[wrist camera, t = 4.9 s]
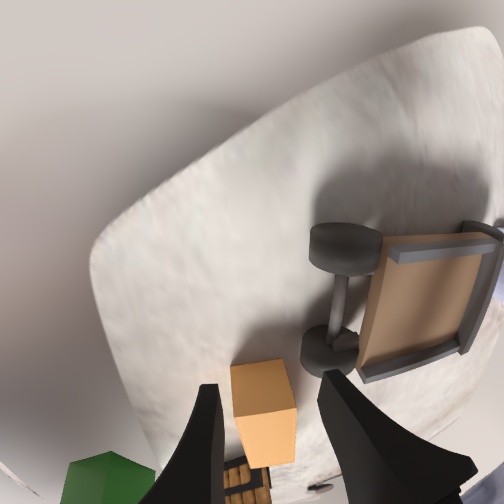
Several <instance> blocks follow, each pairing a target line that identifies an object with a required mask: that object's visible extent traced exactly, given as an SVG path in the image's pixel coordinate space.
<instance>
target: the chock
mask: <svg viewBox="0 0 504 504" xmlns="http://www.w3.org/2000/svg"><path fill="white" fill-rule="evenodd" d="M230 373H231V387H232V400H233V413H234V419H235V423H236V426H237V429H238V432H239V435H240V438H241V442H242V445H243V448H244V451H245V454H246V457H247V459H248V462H249V465H250V468H251V469H254V468H262V467H269V466H275V465H281V464H287V463H292V462H295V443H296V416H297V407H296V403H295V400H294V396H293V393H292V389H291V386H290V382H289V379H288V375H287V372H286V368H285V365H284V361H283V358H281V359H275V360H269V361H263V362H256V363H250V364H242V365H234V366H230Z"/></svg>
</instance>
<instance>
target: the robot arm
mask: <svg viewBox="0 0 504 504" xmlns="http://www.w3.org/2000/svg"><path fill="white" fill-rule="evenodd" d="M497 229H499V230H500V231H502V232H503V233H504V227H497ZM503 243H504V242H503ZM493 298H496V299H497V300H498V301H500V302H501V303H502V304H503V305H504V260H503V264H502V267H501V271H500V274H499V277H498V281H497V284H496V287H495V290H494V293H493V295H492V298H491V299H493ZM317 402H318V407H319V411H320V415H321V418H322V422H323V424H324V427H325V429H326V432H327V435H328V437H329V439H330V442H331V444H332V447H333V449H334V452H335V454H336V457H337V459H338V462H339V465H340V468H341V471H342V475H343V479H344V483H345V487H346V492H347V496H348V501H349V504H504V462H503V463H502V464H500V465H499V466H498V467H497V468H496V469H495V470H493V472H491V473H490V474H488V475H487V476H485V477H484V478H483V479H481V480H480V481H479V482H477V483H476V484H475V485H474V486H472V487H471V488H470V489H468V490H467V491H466V492H465V493H464V494H463V495H462V496H459V493H460V492H461V489H460V487H459V486H461V485H462V484H463V483H465V482H466V481H467V480H469V479H470V478H472V477H473V476H474V475H475V474H477V473H478V469H477V467H476V466H475V464H474V462H473V461H472V459H471V458H470V457H469V456H465V455H461V454H458V453H454V452H451V451H448V450H446V449H443V448H440V447H438V446H436V445H433V444H432V443H430V442H428V441H426V440H423V439H421V438H420V437H418V436H416V435H414V434H413V433H411V432H409V431H408V430H406V429H405V428H403V427H402V426H400V425H399V424H397V423H396V422H395V421H393V420H392V419H391V418H389V417H388V416H387V415H386V414H384V413H383V412H382V411H381V410H380V409H378V408H377V407H376V406H375V405H374V404H373V403H372V402H371V401H370V400H369V399H367V398H366V397H365V396H364V395H363V394H362V393H361V392H360V391H359V390H358V389H357V388H356V387H355V386H354V385H353V384H352V383H351V382H350V381H349V379H348V378H347V377H346V376H345V375H344V374H343V373H342V372H341V371H340V370H339V369H338V368H337V369H332V370H327V371H324V372H323V377H322V381H321V386H320V390H319V394H318V399H317ZM224 445H225V430H224V417H223V409H222V404H221V398H220V393H219V388H218V384H202V385H201V386H200V387H199V392H198V396H197V399H196V402H195V406H194V408H193V411H192V414H191V417H190V419H189V422H188V424H187V426H186V429H185V431H184V433H183V435H182V437H181V440H180V442H179V444H178V446H177V448H176V450H175V451H174V453H173V455H172V457H171V459H170V460H169V462H168V464H167V465H166V467H165V468H164V470H163V471H162V473H161V474H160V476H159V477H158V479H157V480H156V482H155V483H154V484H153V486H152V487H151V488H150V489H149V491H148V492H147V493H146V494H145V495H144V496H143V498H142V499H141V500H140V501H139V502H138V503H137V504H226V502H225V492H224Z"/></svg>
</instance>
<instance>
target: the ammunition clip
mask: <svg viewBox="0 0 504 504" xmlns="http://www.w3.org/2000/svg"><path fill="white" fill-rule="evenodd" d="M271 488H272V487H271V479H270V471H269V467H262V468H254V469H251V468H250V465H249V462H248V459H247V457H246V455H245V456H242V457H239V458H237V459H234V460H231V461H228V462H225V463H224V492H225V502H226V504H272V500H271V495H270V489H271Z"/></svg>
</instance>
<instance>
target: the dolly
mask: <svg viewBox="0 0 504 504" xmlns="http://www.w3.org/2000/svg"><path fill="white" fill-rule="evenodd" d="M503 242H504V233H503V232H502V231H500V230H499V229H497V228H495V227H492V226H490V225H487V224H484V223H481V222H476V221H464V222H463V227H462V232H461V233H447V234H425V235H405V236H385V237H383V236H382V235H381V234H380V233H379V232H377V231H376V230H374V229H371V228H369V227H365V226H362V225H357V224H351V223H324V224H319V225H316V226H314V227H312V228H311V230H310V245H309V260H310V262H311V263H312V264H313V265H314V266H316V267H317V268H319V269H321V270H324V271H326V272H329V273H333V274H336V275H335V284H334V292H333V299H332V306H331V313H330V320H329V325H319V326H316V327H313V328H311V329H310V330H308V331H307V332H306V333H305V334H304V336H303V338H302V345H301V354H300V361H301V364H302V366H303V368H304V369H305V370H306V371H307V372H308V373H310V374H311V375H313V376H316V377H318V378H322V377H323V372H324V371H327V370H332V369H337V368H338V369H339V370H340V371H341V372H342V373H343V374H344V375H345V376H346V375H348V374H349V373H351V372H352V371H353V369H354V368H356V370H357V372H358V374H359V376H360V377H361V379H362V381H363V383H364V384H367V383H371V382H374V381H378V380H381V379H385V378H388V377H391V376H395V375H398V374H401V373H404V372H407V371H410V370H413V369H415V368H418V367H421V366H424V365H426V364H429V363H432V362H434V361H437V360H439V359H442V358H444V357H446V356H449V355H451V354H453V353H456V352H458V353H459V354H460V355H463V354H465V353H467V352H468V351H469V349H470V347H471V345H472V343H473V341H474V339H475V337H476V335H477V333H478V330H479V328H480V326H481V324H482V321H483V319H484V316H485V314H486V311H487V309H488V306H489V304H490V301H491V298H492V295H493V293H494V290H495V287H496V284H497V281H498V277H499V274H500V271H501V267H502V264H503V260H504V243H503ZM364 275H372V278H371V283H370V289H369V294H368V299H367V304H366V308H365V313H364V318H363V322H362V326H361V330H360V334H359V335H358V334H357V332H352V331H351V330H349V329H347V328H345V327H342V326H341V324H342V318H343V313H344V307H345V301H346V295H347V288H348V281H349V277H355V276H364Z"/></svg>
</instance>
